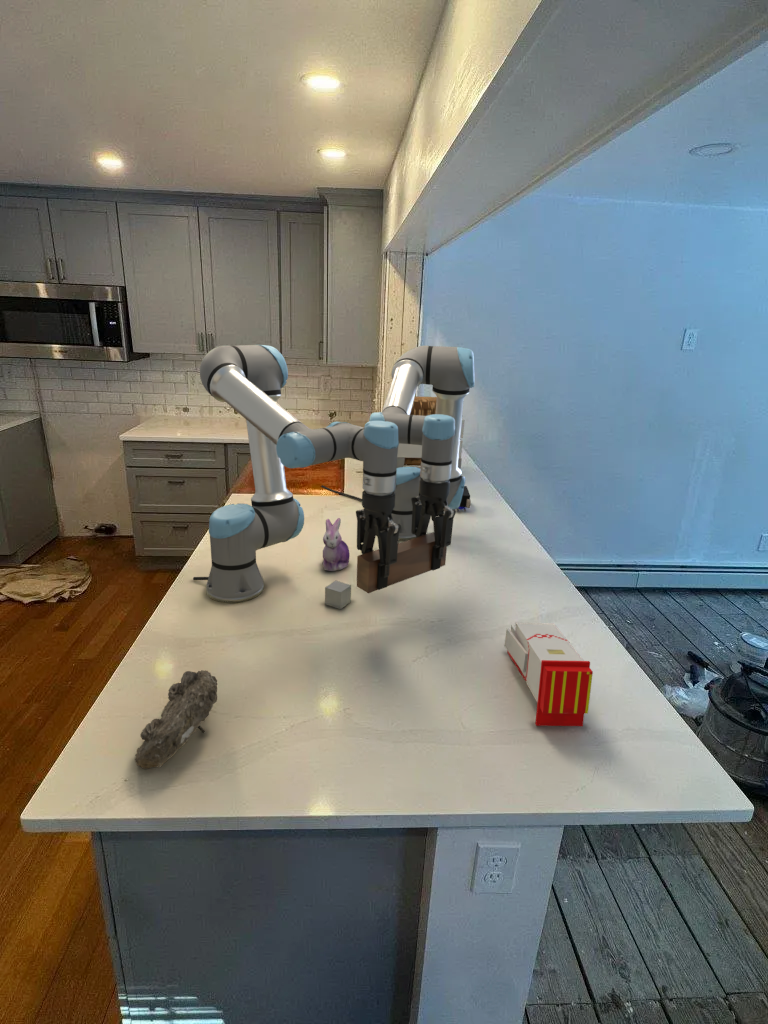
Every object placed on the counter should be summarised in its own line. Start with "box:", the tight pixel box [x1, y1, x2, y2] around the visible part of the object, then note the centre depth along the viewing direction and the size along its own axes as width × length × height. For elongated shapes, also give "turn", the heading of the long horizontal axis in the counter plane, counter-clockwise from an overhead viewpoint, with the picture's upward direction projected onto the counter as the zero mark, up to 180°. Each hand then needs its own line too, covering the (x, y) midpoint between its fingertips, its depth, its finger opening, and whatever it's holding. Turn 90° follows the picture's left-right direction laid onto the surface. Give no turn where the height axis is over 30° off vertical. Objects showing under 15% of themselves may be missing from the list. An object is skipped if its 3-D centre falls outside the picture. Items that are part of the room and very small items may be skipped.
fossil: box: [134, 669, 218, 770], centre depth 103 cm, size 22×10×15 cm
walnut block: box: [356, 531, 448, 594], centre depth 140 cm, size 4×26×8 cm, turn 131°
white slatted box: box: [396, 396, 465, 471], centre depth 268 cm, size 34×33×41 cm
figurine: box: [322, 517, 351, 572], centre depth 171 cm, size 9×10×15 cm
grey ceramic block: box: [324, 579, 352, 610], centre depth 151 cm, size 5×5×5 cm
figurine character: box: [456, 485, 472, 513], centre depth 228 cm, size 7×8×15 cm
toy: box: [503, 622, 594, 727], centre depth 121 cm, size 12×13×30 cm
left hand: (375, 583), depth 136 cm, fingers closed on walnut block, 4 cm apart
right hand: (428, 565), depth 147 cm, fingers closed on walnut block, 4 cm apart
